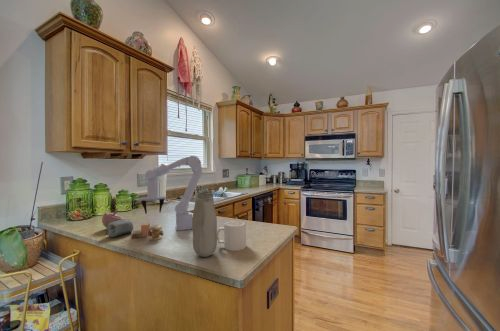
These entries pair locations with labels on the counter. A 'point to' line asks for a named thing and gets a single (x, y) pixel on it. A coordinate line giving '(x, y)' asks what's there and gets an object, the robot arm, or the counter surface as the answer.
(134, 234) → the notched board
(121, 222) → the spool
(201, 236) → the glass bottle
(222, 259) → the counter surface
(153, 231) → the bobbin
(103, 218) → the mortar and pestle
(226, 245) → the mug
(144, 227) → the salmon pink cuboid
